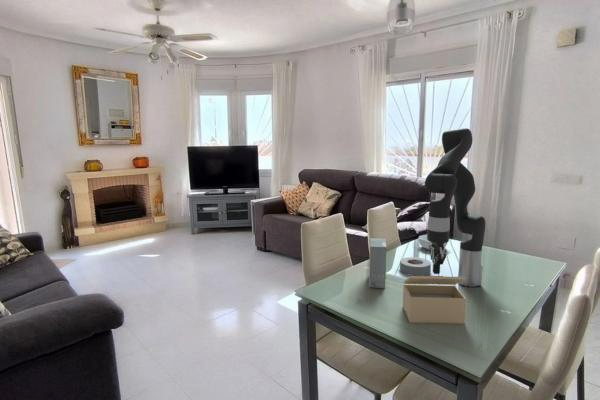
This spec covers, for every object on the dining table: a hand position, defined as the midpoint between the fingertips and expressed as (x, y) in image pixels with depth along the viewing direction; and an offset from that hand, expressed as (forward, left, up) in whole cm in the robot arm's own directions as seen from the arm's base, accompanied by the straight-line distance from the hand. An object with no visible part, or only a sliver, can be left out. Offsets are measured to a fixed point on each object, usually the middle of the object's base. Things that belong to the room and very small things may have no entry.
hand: (436, 273), depth 128 cm
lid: (0, -3, -5) cm, 6 cm away
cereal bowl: (-25, -89, -19) cm, 94 cm away
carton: (0, -3, -18) cm, 18 cm away
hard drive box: (+17, -35, -19) cm, 43 cm away
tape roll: (-5, -51, -19) cm, 54 cm away
